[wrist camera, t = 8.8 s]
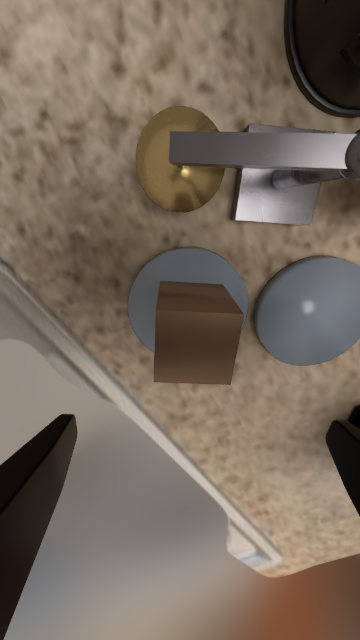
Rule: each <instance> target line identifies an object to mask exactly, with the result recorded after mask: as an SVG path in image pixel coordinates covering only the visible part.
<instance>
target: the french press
mask: <svg viewBox="0 0 360 640" xmlns="http://www.w3.org/2000/svg"><path fill="white" fill-rule="evenodd" d="M359 33H360V0H286V6H285V40H286V49H287V56H288V59H289V63H290V66H291V70H292V73H293V75H294V77H295V79H296V81H297V84H298V86H299V88H300V89H301V91H302V92H303V93H304V94H305V96H306V97H307V98H308V99H309V101H310V102H311V103H313V104H314V105H315V106H317V107H318V108H319V109H321V110H322V111H324V112H327V113H330V114H332V115H335V116H341V117H358V116H360V68H359V67H358V66H357V65H355V64H354V63H353V61H352V60H351V58H350V57H349V55H348V54H347V53H346V51H345V50H344V47H345V46H346V45H347V44H348V43H349V42H350V41H351V40H353V39H354V38H355V37H356V36H357V35H358V34H359Z"/></svg>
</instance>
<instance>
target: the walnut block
mask: <svg viewBox="0 0 360 640" xmlns="http://www.w3.org/2000/svg"><path fill="white" fill-rule="evenodd" d="M243 318H244V313H243V312H242V311H241V309H240V308H239V306H238V305H237V304H236V302H235V301H234V299H233V298H232V296H231V295H230V294H229V292H228V291H227V289H226V288H225V287H224V285H223V284H208V283H191V282H173V281H160V285H159V292H158V298H157V305H156V319H155V354H154V382H163V383H195V384H226V385H231V380H232V375H233V369H234V364H235V359H236V354H237V349H238V344H239V338H240V333H241V328H242V323H243Z"/></svg>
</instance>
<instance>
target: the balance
mask: <svg viewBox="0 0 360 640" xmlns="http://www.w3.org/2000/svg"><path fill="white" fill-rule="evenodd" d="M136 168H137V173H138V177H139V180H140V182H141V185H142V187H143V189H144V190H145V192H146V193H147V195H148V196H149V197H150V198H151V199H152V200H153V201H154V202H155V203H156V204H157V205H159V206H160V207H162V208H164V209H166V210H169V211H173V212H189V211H192V210H195V209H197V208H200V207H201V206H203V205H204V204H206V203H207V202H208V201H209V200H210V199H211V198H212V197H213V195H214V194H215V193H216V191H217V190H218V188H219V186H220V184H221V181H222V178H223V175H224V170H225V168H238V175H237V182H236V188H235V195H234V202H233V209H232V216H231V219H232V220H243V221H256V222H270V223H283V224H296V225H310V223H311V220H312V216H313V212H314V209H315V205H316V201H317V198H318V194H319V190H320V187H321V183H322V182H324V181H329V180H335V179H340V178H346V179H348V180H352V181H360V130H358V131H357V132H355V133H354V134H337V133H335V132H330V131H320V130H310V129H300V128H290V127H280V126H270V125H260V124H249V125H248V126H247V127H246V128H245V129H244V132H219V131H218V129H217V127H216V126H215V125H214V123H213V122H212V121H211V120H210V119H209V118H208V117H207V116H206V115H205V114H203V113H202V112H200V111H198V110H196V109H194V108H191V107H186V106H175V107H170V108H167V109H165V110H163V111H161V112H159V113H158V114H156V115H155V116H154V117H153V118H152V119H151V120H150V121H149V122H148V123H147V125H146V126H145V128H144V129H143V131H142V133H141V136H140V138H139V141H138V145H137V150H136Z"/></svg>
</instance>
